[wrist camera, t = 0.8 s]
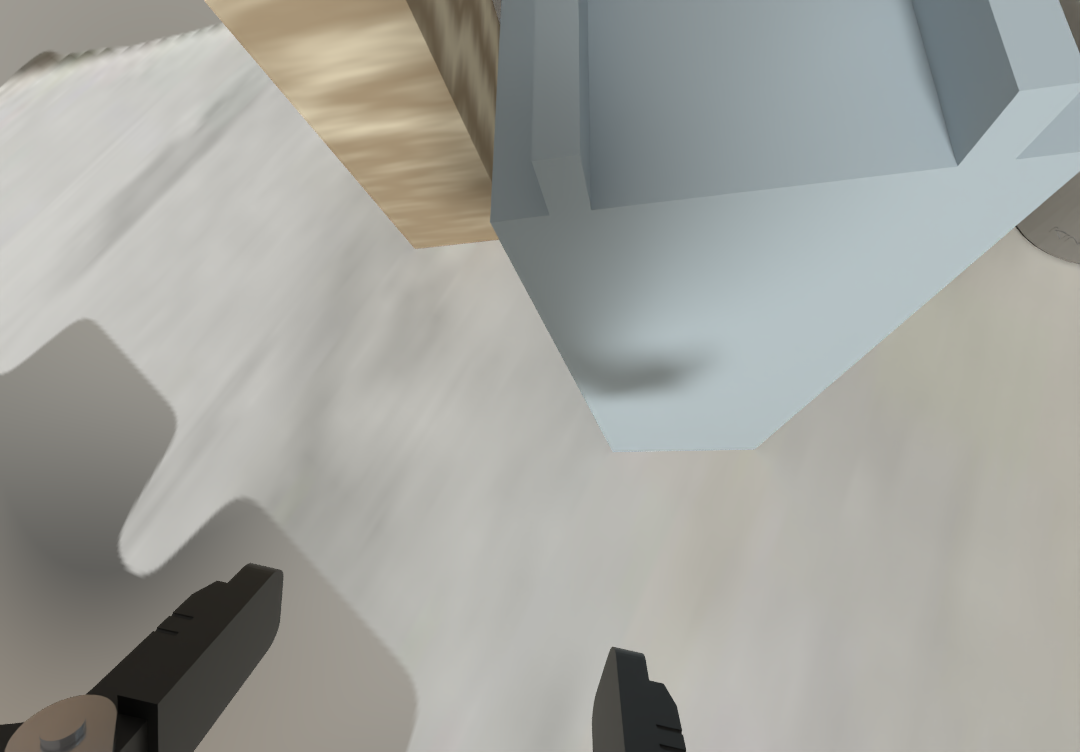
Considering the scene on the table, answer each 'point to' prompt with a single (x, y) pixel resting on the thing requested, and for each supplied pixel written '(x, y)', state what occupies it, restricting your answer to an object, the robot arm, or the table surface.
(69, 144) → the table surface
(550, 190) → the slate pedestal
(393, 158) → the birch stand
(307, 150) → the table surface
